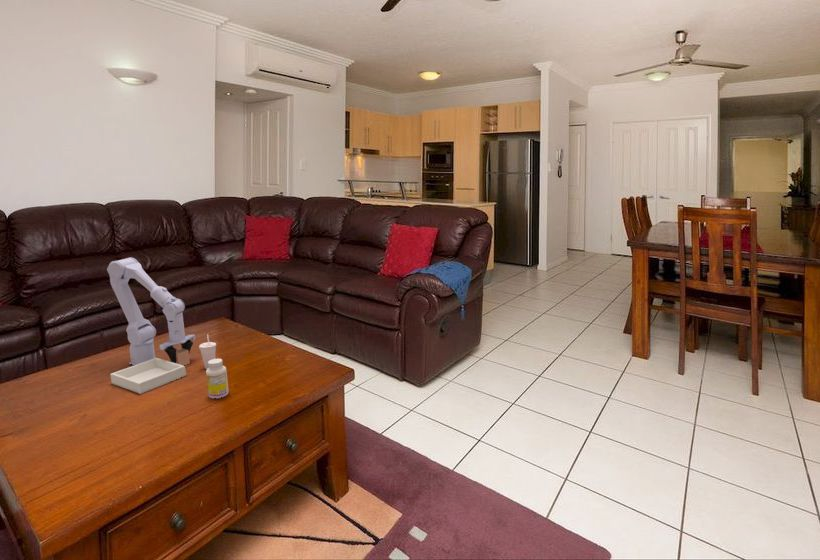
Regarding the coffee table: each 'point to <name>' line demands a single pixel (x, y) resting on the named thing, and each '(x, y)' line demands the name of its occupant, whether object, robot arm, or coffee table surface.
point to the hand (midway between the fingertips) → (180, 360)
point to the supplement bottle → (216, 379)
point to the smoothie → (207, 351)
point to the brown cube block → (182, 356)
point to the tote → (148, 375)
